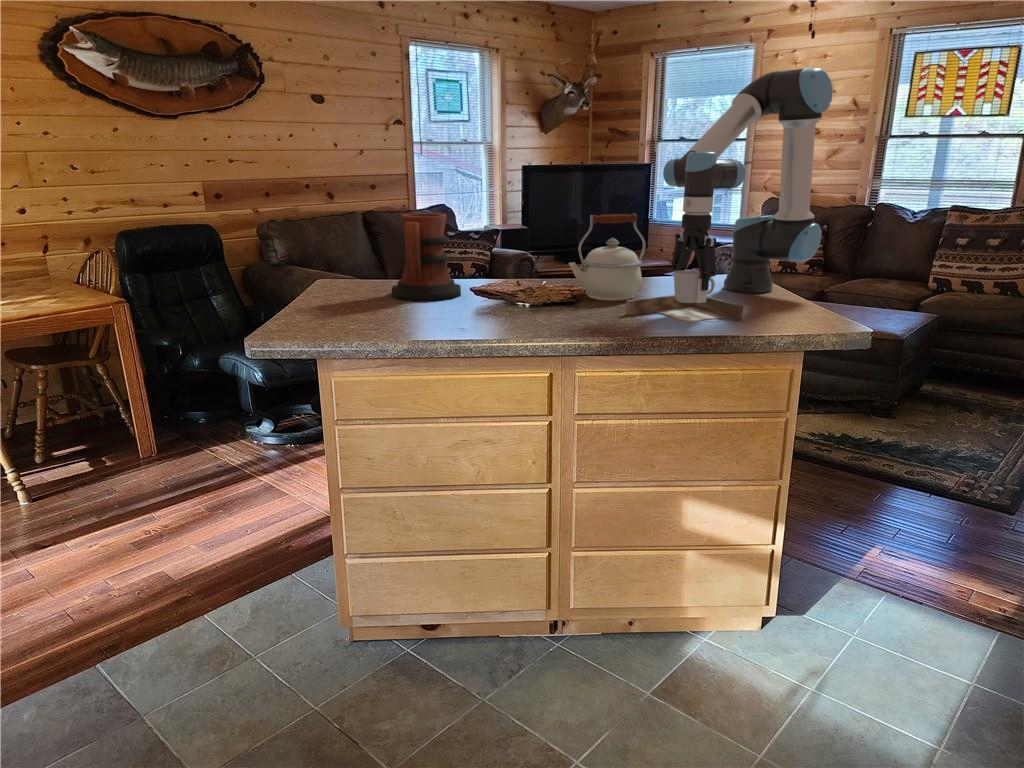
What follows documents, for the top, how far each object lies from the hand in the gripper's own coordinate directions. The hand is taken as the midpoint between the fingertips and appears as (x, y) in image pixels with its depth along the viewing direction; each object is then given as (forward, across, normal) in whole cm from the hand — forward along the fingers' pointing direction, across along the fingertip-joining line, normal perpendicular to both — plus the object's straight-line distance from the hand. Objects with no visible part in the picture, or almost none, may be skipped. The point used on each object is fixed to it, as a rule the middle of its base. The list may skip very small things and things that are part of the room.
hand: (690, 299), depth 198 cm
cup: (+1, +1, 0) cm, 1 cm away
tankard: (+5, -60, -54) cm, 81 cm away
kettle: (+5, -33, -5) cm, 34 cm away
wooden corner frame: (+5, +1, -3) cm, 6 cm away
